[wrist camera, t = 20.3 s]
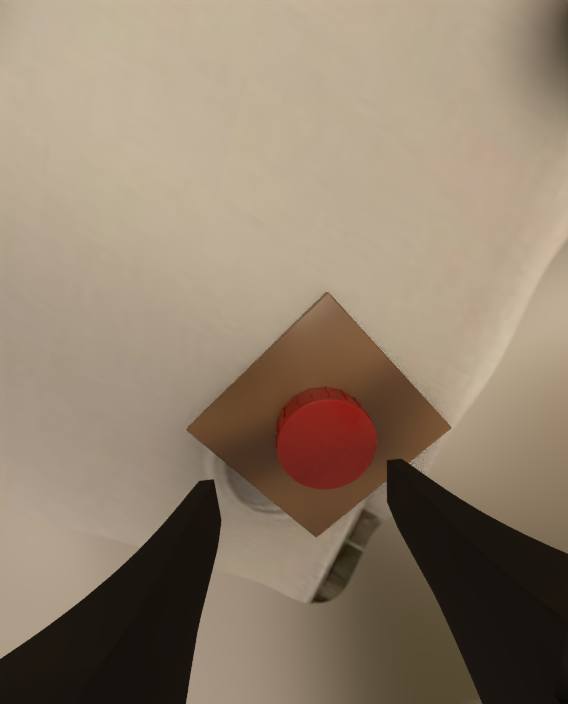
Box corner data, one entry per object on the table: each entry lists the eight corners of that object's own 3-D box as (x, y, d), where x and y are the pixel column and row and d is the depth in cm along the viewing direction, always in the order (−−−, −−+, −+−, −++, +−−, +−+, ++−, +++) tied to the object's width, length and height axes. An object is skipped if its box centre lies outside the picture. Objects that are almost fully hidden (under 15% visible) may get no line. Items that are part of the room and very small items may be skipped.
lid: (385, 425, 16) (399, 442, 14) (321, 484, 17) (326, 508, 15) (321, 366, 15) (327, 377, 13) (256, 432, 16) (254, 451, 14)
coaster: (188, 426, 16) (185, 430, 16) (326, 291, 15) (328, 291, 14) (315, 532, 18) (316, 538, 18) (447, 424, 17) (451, 427, 16)
